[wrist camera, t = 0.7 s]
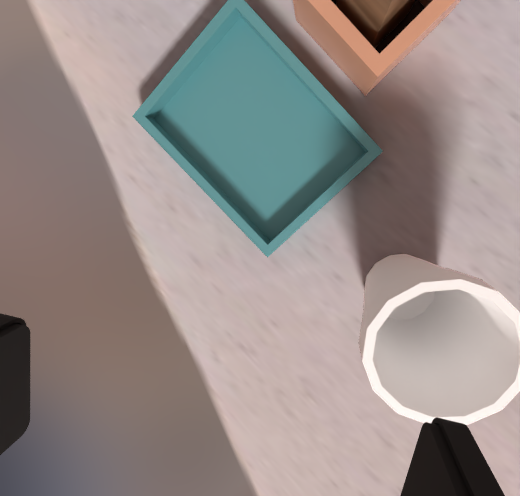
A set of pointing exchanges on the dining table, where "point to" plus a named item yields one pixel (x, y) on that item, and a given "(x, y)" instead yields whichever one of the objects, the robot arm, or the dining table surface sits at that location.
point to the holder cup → (355, 44)
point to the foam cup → (438, 341)
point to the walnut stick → (375, 16)
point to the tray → (255, 127)
